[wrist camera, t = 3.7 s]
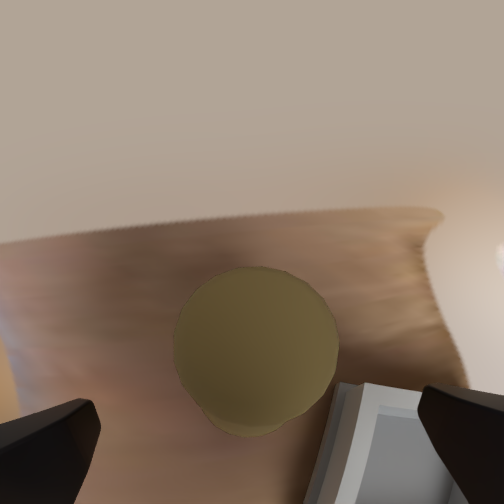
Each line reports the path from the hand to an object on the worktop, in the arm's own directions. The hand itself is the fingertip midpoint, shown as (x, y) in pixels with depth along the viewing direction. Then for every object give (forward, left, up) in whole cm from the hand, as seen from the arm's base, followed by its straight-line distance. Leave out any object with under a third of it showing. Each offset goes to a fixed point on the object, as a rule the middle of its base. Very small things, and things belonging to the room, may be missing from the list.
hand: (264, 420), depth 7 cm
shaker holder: (-2, -10, -11) cm, 15 cm away
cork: (+2, +1, -11) cm, 11 cm away
